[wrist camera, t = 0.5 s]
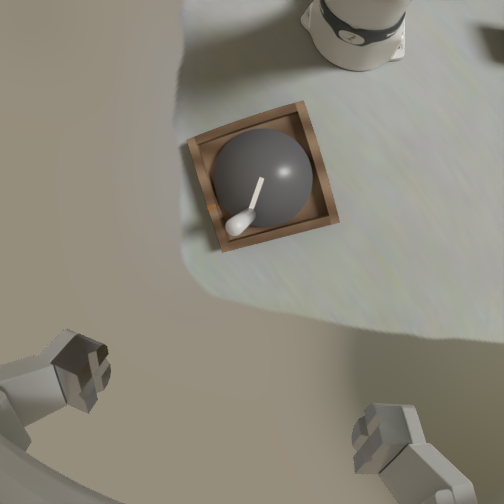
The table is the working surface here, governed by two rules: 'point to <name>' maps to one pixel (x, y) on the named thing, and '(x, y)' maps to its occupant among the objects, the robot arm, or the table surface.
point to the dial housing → (300, 129)
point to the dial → (262, 179)
